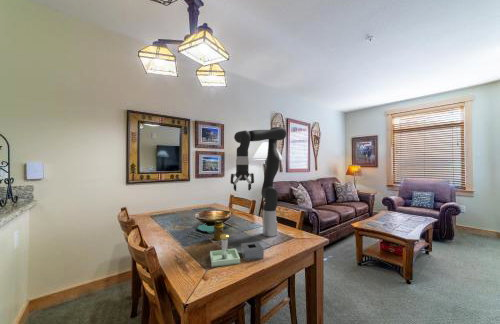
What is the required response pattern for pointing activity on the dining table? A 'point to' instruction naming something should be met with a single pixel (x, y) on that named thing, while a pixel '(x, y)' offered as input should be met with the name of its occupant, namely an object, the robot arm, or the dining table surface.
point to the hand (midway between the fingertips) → (242, 190)
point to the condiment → (217, 231)
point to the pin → (224, 246)
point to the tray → (218, 261)
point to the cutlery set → (203, 230)
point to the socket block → (252, 251)
